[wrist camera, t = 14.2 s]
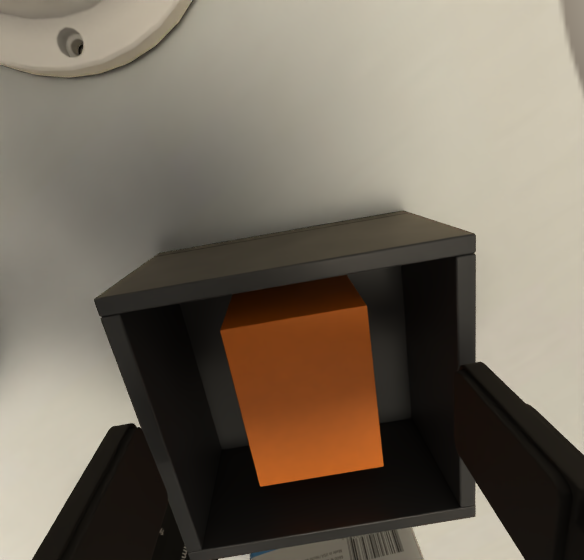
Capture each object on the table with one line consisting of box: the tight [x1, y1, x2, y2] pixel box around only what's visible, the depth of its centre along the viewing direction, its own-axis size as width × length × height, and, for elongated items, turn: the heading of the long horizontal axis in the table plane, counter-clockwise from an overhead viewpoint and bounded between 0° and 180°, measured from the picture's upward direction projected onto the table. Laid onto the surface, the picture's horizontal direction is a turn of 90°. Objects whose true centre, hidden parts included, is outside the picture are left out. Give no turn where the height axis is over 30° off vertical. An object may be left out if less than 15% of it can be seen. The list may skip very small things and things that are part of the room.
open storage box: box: [94, 211, 476, 560], centre depth 14 cm, size 11×11×6 cm
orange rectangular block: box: [220, 275, 384, 487], centre depth 14 cm, size 7×5×4 cm
